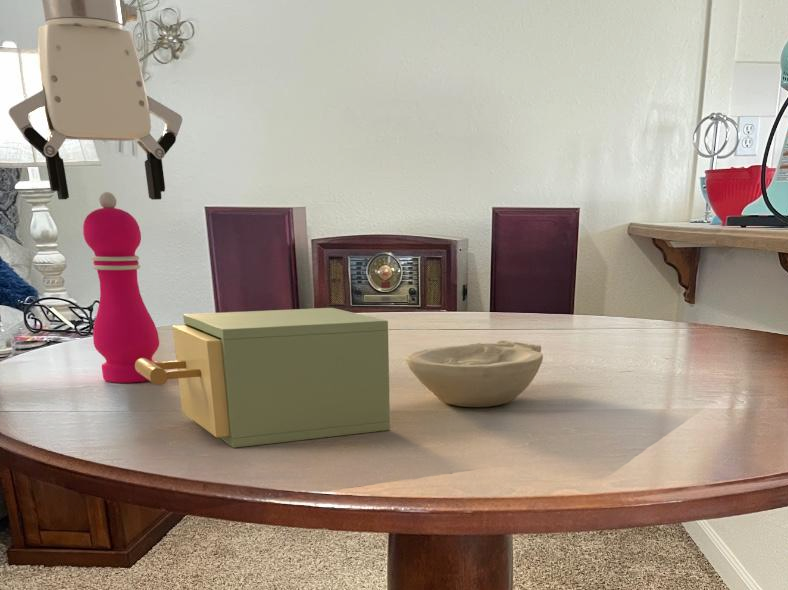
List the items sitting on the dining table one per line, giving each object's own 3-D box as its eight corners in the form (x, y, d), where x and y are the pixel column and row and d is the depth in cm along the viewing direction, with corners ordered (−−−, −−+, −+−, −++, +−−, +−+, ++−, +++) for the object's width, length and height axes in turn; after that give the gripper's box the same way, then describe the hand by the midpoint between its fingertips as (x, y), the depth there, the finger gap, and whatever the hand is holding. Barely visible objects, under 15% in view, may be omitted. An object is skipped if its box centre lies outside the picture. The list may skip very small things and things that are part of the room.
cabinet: (233, 448, 74) (222, 329, 71) (194, 419, 84) (182, 314, 81) (390, 430, 81) (388, 320, 77) (336, 405, 91) (332, 307, 87)
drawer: (164, 443, 72) (152, 344, 69) (135, 416, 81) (123, 328, 78) (364, 421, 80) (361, 332, 77) (317, 399, 89) (313, 318, 86)
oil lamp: (472, 375, 108) (473, 333, 106) (583, 386, 102) (586, 341, 100) (379, 405, 91) (378, 355, 89) (506, 420, 85) (507, 367, 83)
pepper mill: (85, 380, 103) (56, 191, 95) (130, 371, 109) (106, 192, 101) (132, 385, 100) (106, 191, 92) (176, 376, 106) (155, 192, 98)
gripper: (162, 28, 97) (181, 199, 104) (-13, 12, 89) (21, 199, 96) (178, 16, 91) (198, 199, 98) (-7, -2, 83) (28, 199, 90)
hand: (110, 199), depth 97 cm, fingers open, 9 cm apart
